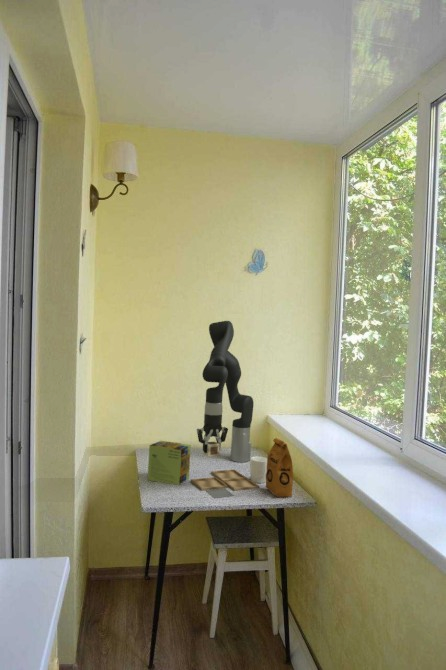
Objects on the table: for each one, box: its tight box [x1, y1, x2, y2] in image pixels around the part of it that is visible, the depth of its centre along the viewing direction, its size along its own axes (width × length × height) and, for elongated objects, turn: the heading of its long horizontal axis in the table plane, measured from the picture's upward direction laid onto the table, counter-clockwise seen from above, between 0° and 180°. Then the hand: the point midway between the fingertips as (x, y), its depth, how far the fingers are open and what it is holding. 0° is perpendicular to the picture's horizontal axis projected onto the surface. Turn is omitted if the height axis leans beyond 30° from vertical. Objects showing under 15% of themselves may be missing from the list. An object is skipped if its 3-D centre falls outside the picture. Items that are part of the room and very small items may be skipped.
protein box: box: [147, 440, 192, 486], centre depth 224 cm, size 10×15×16 cm
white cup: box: [249, 456, 267, 484], centre depth 230 cm, size 8×8×10 cm
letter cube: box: [203, 440, 221, 458], centre depth 219 cm, size 5×5×5 cm
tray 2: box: [210, 469, 246, 481], centre depth 233 cm, size 12×12×1 cm
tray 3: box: [222, 476, 260, 492], centre depth 222 cm, size 12×12×1 cm
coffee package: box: [265, 437, 294, 498], centre depth 216 cm, size 10×12×22 cm
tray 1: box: [190, 476, 229, 492], centre depth 220 cm, size 12×12×1 cm
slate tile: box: [204, 488, 235, 499], centre depth 210 cm, size 9×9×1 cm
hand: (211, 452), depth 219 cm, fingers closed on letter cube, 5 cm apart
